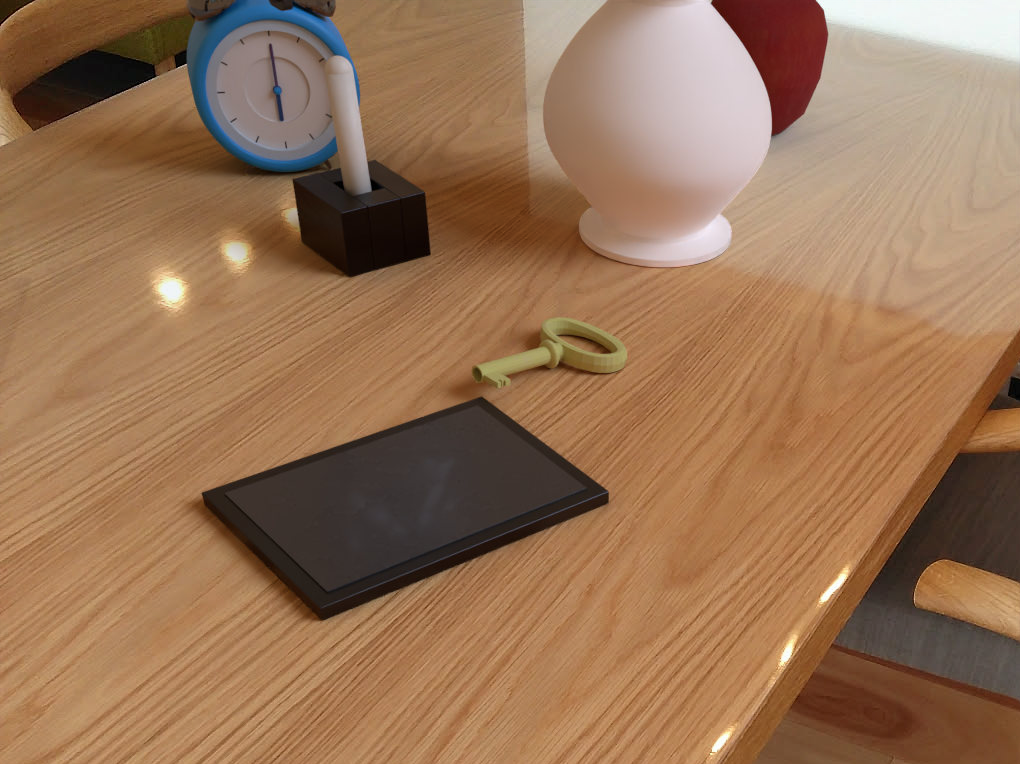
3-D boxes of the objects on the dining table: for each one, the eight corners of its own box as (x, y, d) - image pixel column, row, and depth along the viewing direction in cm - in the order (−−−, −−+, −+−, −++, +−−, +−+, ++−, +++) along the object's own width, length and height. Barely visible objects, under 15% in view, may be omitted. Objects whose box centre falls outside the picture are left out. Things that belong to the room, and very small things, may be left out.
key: (466, 396, 99) (464, 367, 97) (559, 324, 107) (558, 297, 106) (558, 426, 97) (557, 397, 96) (645, 351, 105) (645, 324, 104)
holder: (349, 277, 110) (341, 212, 106) (301, 242, 114) (291, 178, 110) (431, 254, 114) (425, 191, 110) (382, 221, 117) (375, 159, 114)
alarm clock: (209, 181, 120) (171, -16, 110) (203, 152, 124) (166, -41, 114) (370, 171, 124) (348, -21, 114) (358, 143, 128) (336, -45, 118)
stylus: (362, 255, 113) (331, 61, 103) (349, 247, 114) (317, 55, 105) (385, 249, 114) (355, 56, 105) (371, 241, 115) (341, 50, 106)
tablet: (322, 621, 81) (319, 606, 80) (203, 504, 88) (200, 490, 87) (609, 503, 91) (609, 489, 90) (482, 407, 98) (481, 394, 97)
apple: (735, 95, 144) (744, -54, 134) (840, 123, 140) (856, -28, 131) (673, 131, 136) (678, -25, 127) (783, 162, 132) (796, 4, 123)
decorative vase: (536, 189, 124) (525, -148, 107) (740, 187, 127) (761, -139, 110) (558, 285, 112) (549, -79, 94) (783, 280, 115) (814, -71, 98)
